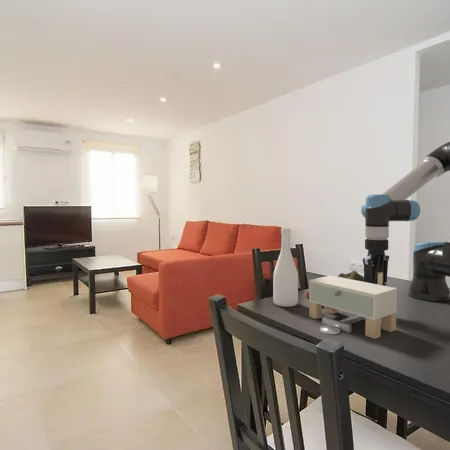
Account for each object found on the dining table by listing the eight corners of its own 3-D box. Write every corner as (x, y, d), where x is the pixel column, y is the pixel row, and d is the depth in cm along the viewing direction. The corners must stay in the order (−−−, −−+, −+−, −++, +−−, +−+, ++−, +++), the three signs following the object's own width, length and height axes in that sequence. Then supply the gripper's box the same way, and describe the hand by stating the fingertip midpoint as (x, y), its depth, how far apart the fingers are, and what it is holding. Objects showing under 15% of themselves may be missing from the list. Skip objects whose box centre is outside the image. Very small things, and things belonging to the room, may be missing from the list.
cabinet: (330, 310, 123) (331, 275, 122) (396, 329, 103) (396, 288, 102) (306, 317, 115) (306, 280, 114) (371, 340, 95) (372, 295, 94)
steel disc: (336, 328, 106) (336, 325, 106) (343, 335, 100) (343, 332, 100) (317, 328, 106) (317, 325, 106) (323, 335, 100) (323, 332, 100)
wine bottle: (282, 308, 125) (282, 229, 123) (268, 302, 134) (268, 227, 132) (302, 305, 129) (303, 228, 127) (288, 299, 137) (289, 227, 136)
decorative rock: (380, 299, 142) (383, 276, 141) (351, 301, 136) (355, 277, 135) (354, 288, 156) (357, 267, 154) (327, 289, 150) (330, 267, 148)
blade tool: (366, 308, 124) (367, 269, 123) (393, 315, 116) (394, 273, 115) (322, 323, 109) (322, 278, 108) (349, 333, 101) (350, 284, 100)
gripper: (378, 236, 124) (377, 298, 126) (353, 239, 115) (352, 305, 116) (399, 237, 118) (397, 302, 120) (374, 240, 109) (372, 311, 110)
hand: (375, 304), depth 118 cm, fingers closed on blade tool, 3 cm apart
